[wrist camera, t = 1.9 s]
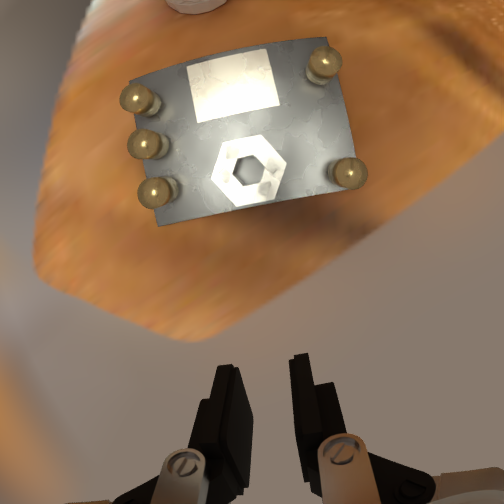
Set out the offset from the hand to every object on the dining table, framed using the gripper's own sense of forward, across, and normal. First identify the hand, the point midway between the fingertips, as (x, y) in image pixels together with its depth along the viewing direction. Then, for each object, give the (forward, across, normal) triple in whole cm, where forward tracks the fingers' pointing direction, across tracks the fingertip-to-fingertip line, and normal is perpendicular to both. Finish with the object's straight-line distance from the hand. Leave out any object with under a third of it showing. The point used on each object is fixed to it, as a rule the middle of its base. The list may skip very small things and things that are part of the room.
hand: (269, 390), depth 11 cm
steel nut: (+17, 0, -8) cm, 18 cm away
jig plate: (+17, 0, -12) cm, 21 cm away
